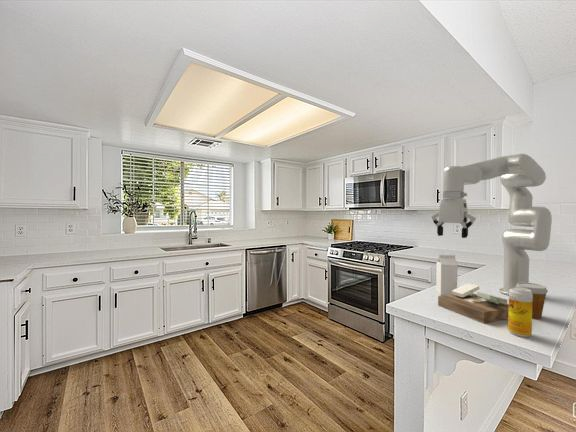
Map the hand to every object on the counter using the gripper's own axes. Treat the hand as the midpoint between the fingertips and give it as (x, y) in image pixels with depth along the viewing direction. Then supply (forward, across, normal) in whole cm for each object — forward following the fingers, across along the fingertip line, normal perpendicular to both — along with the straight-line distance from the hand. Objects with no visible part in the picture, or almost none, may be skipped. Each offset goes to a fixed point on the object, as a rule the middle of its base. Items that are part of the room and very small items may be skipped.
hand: (451, 236), depth 120 cm
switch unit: (+30, -9, -3) cm, 31 cm away
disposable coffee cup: (+30, -23, -15) cm, 40 cm away
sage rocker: (+24, -14, -4) cm, 28 cm away
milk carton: (+30, +10, -16) cm, 35 cm away
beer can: (+30, -26, +8) cm, 41 cm away
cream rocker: (+24, -3, -6) cm, 25 cm away
